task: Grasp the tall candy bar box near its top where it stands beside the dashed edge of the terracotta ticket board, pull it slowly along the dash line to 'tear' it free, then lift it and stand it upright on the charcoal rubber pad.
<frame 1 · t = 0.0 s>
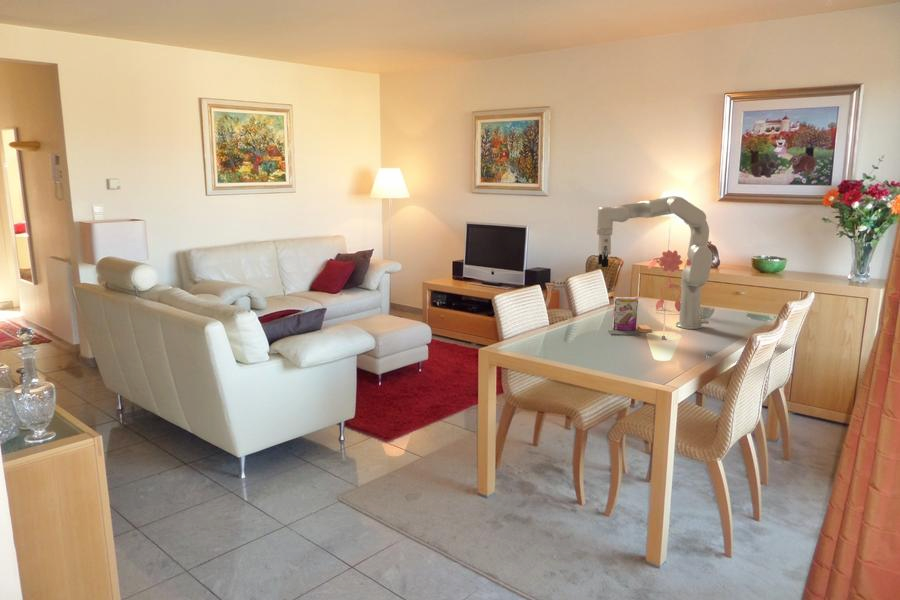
hand: (603, 265, 334), 31 cm above the table, fingers open, 9 cm apart
rubber pad: (624, 333, 324), on the table
pink artificial flower: (666, 311, 372), on the table
candy bar box: (624, 330, 331), on the table
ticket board: (643, 330, 331), on the table
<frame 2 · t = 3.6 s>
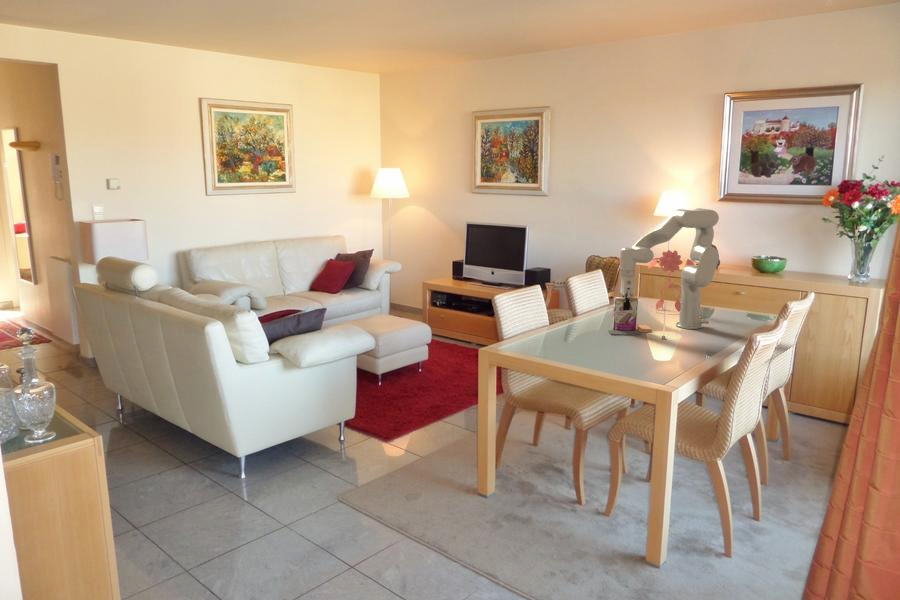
hand: (625, 308, 329), 11 cm above the table, fingers closed on candy bar box, 5 cm apart
candy bar box: (624, 330, 331), on the table, touching gripper
everything else where it was.
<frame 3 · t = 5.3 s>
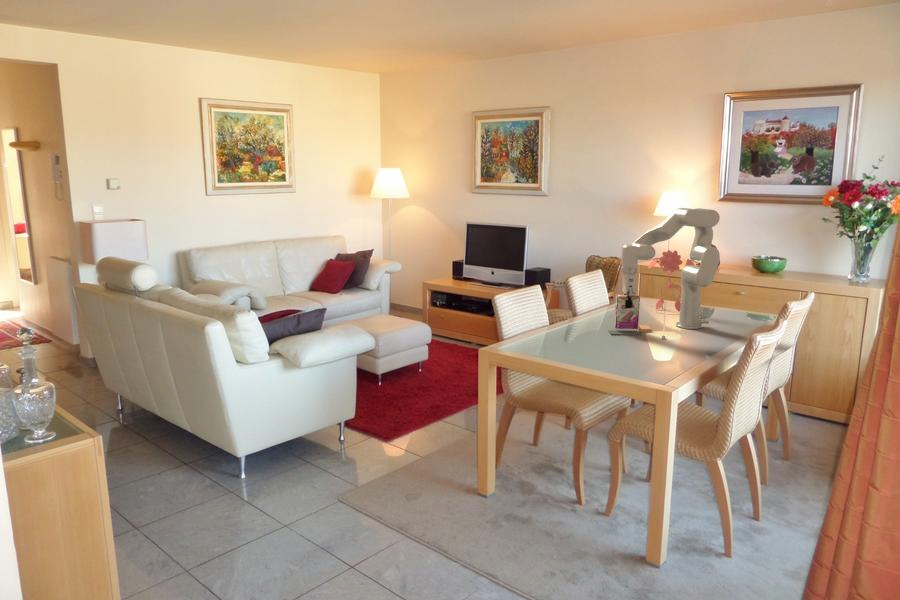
hand: (627, 306, 325), 13 cm above the table, fingers closed on candy bar box, 5 cm apart
candy bar box: (626, 328, 327), point 2 cm above the table, touching gripper
everything else where it was.
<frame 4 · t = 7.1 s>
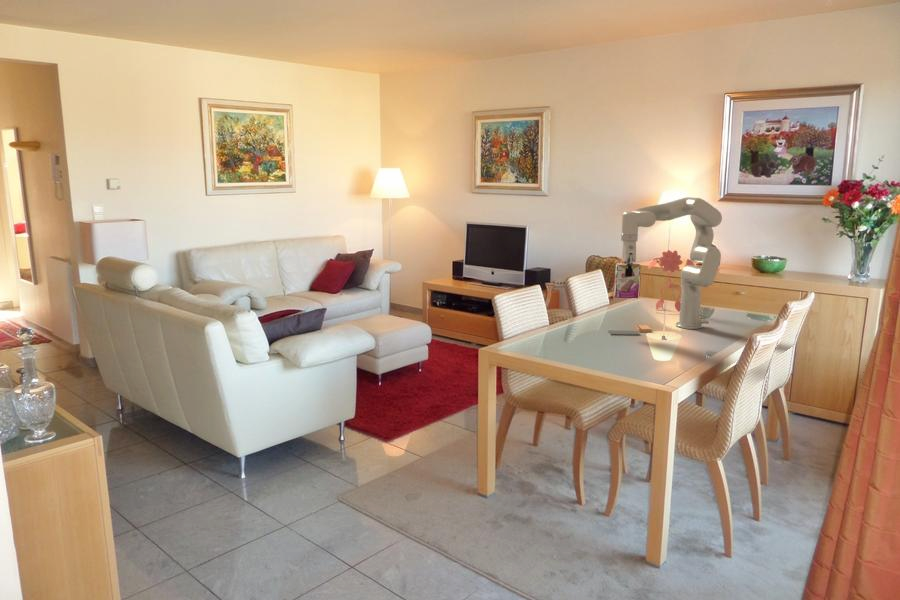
hand: (627, 275, 318), 29 cm above the table, fingers closed on candy bar box, 5 cm apart
candy bar box: (626, 297, 320), point 18 cm above the table, touching gripper
everything else where it was.
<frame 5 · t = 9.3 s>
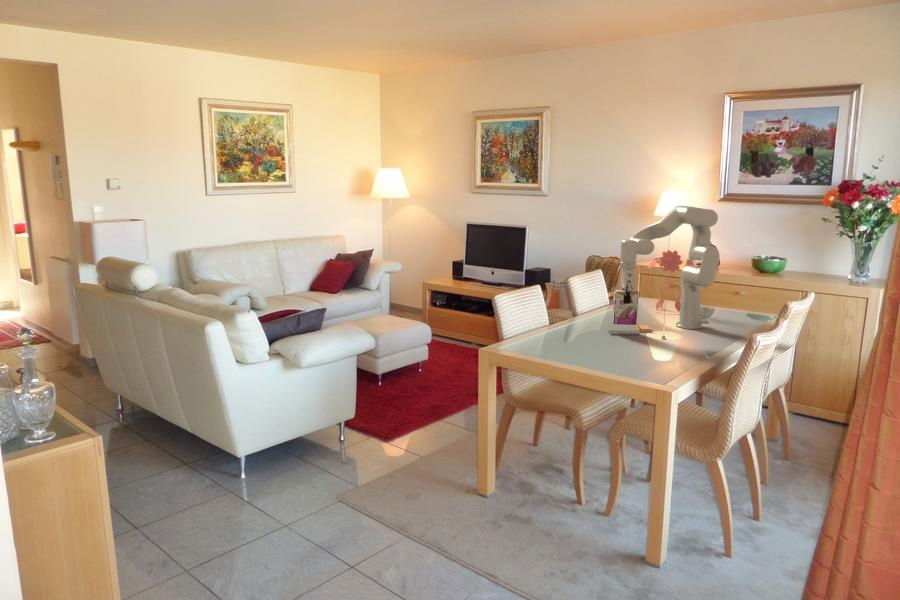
hand: (625, 301, 321), 16 cm above the table, fingers closed on candy bar box, 5 cm apart
candy bar box: (624, 324, 323), point 5 cm above the table, touching gripper
everything else where it was.
when the fingers open (12 cm above the table, at t = 10.9 s): candy bar box stays where it is, resting on rubber pad.
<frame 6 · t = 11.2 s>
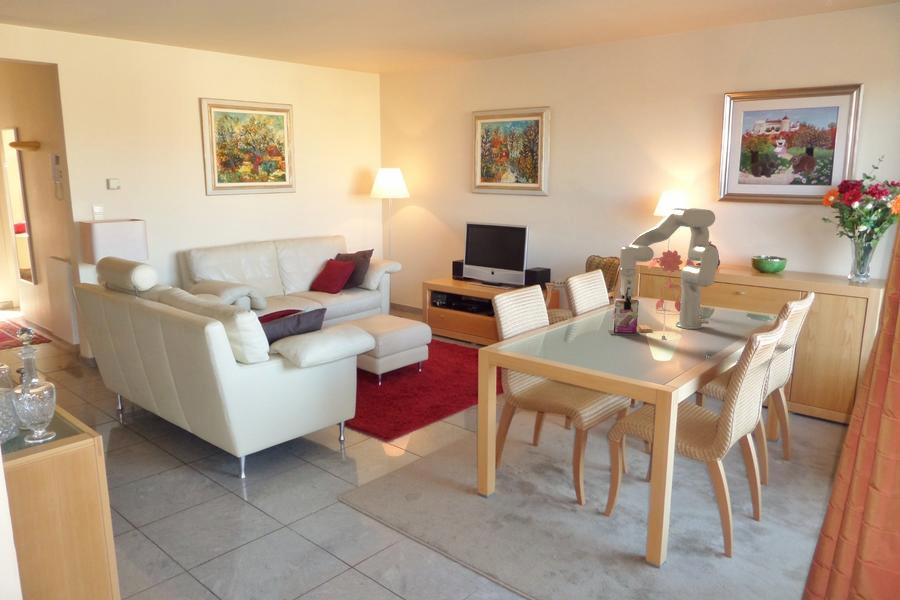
hand: (625, 307, 321), 13 cm above the table, fingers open, 7 cm apart
candy bar box: (624, 332, 324), resting on rubber pad
everything else where it was.
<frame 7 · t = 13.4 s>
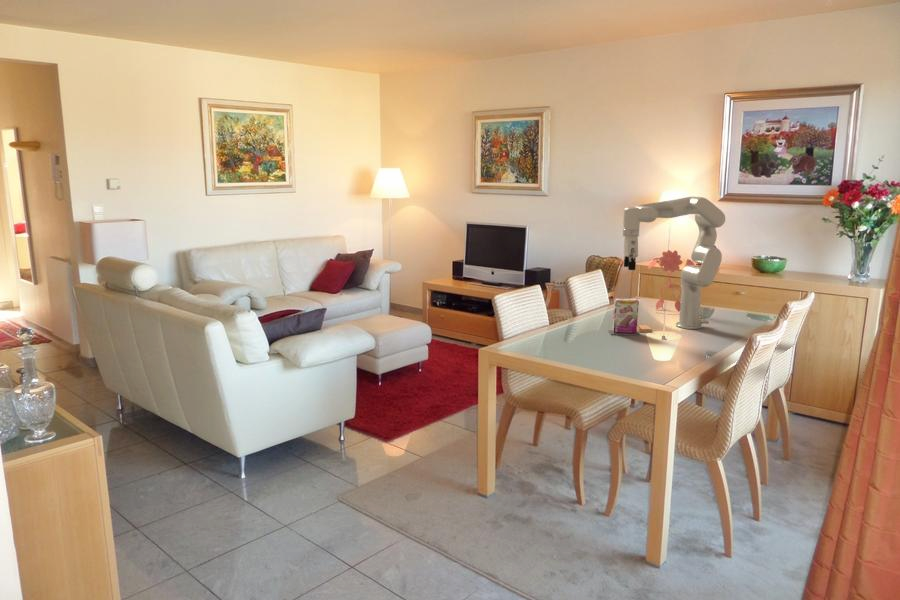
hand: (629, 268, 321), 32 cm above the table, fingers open, 9 cm apart
nothing on the table moved.
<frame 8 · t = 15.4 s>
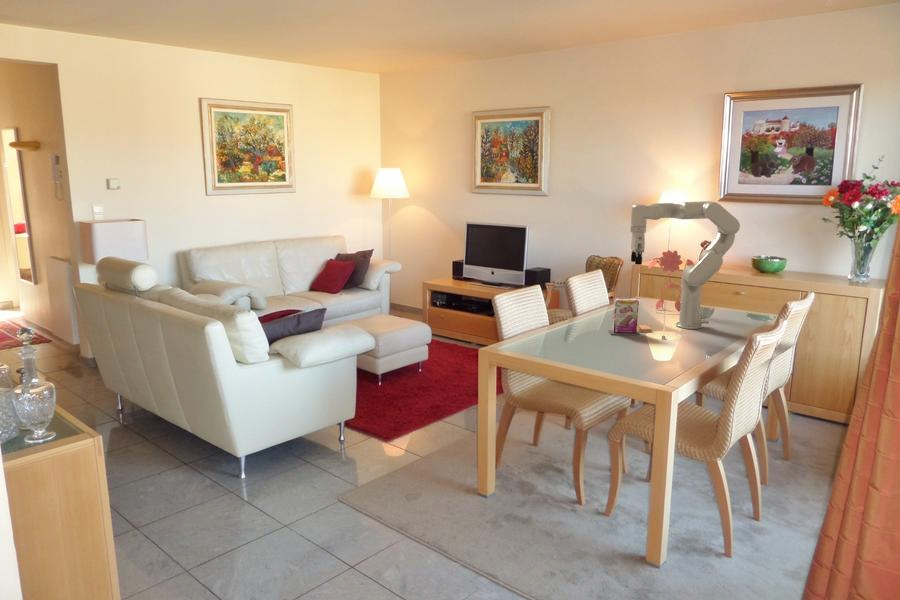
hand: (636, 263, 335), 32 cm above the table, fingers open, 9 cm apart
nothing on the table moved.
at the end: candy bar box inside the target area on the rubber pad (0.2 cm from its centre), point 0.4 cm above the rubber pad's base; candy bar box tilted 0°; the gripper is holding nothing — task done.
